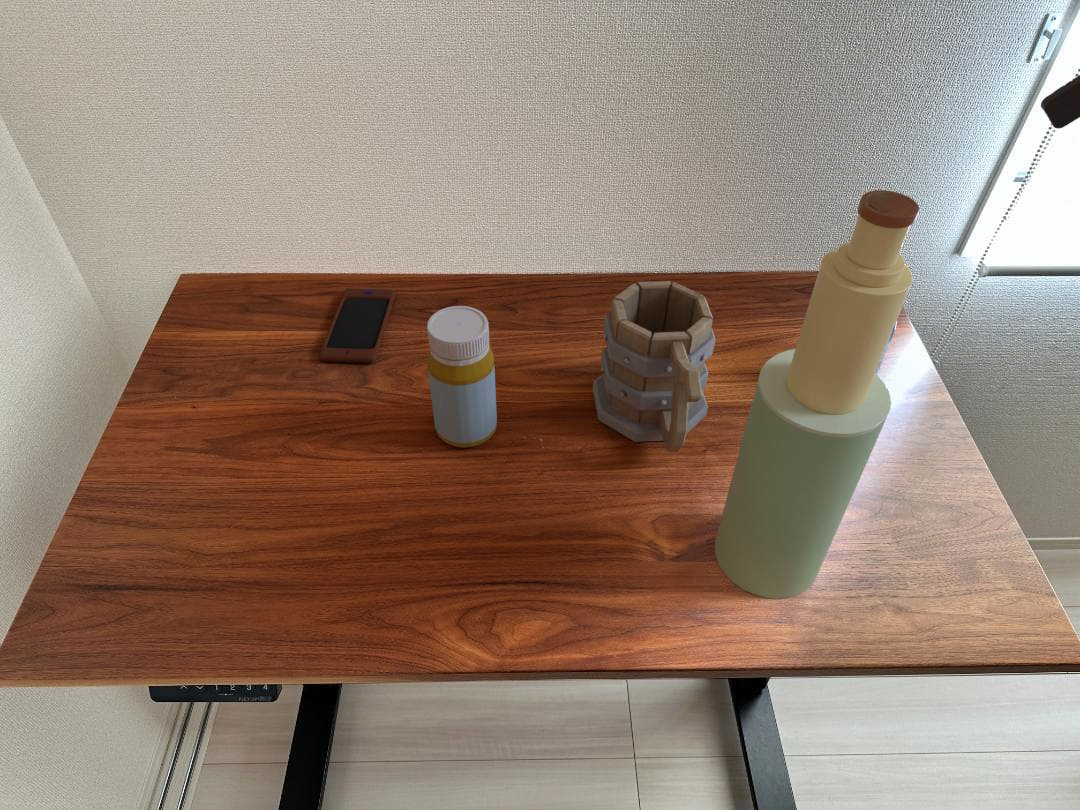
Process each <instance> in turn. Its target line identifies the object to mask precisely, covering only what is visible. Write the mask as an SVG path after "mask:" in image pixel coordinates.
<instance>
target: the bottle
mask: <svg viewBox="0 0 1080 810" xmlns="http://www.w3.org/2000/svg"><path fill="white" fill-rule="evenodd" d="M426 330H427V340H428V345H429V351H428V355H427V358H426V359H427V361H426V362H427V363H426V365H427V372H428V373H427V374H428V382H429V390H430V391H429V392H430V397H431V406H432V415H433V423H434V428H435V429H434V430H435V432H436V434H437V436H438V438H440V439H441V441H443V442H444V443H446V444H448V445H450V446H453V447H456V448H461V449H465V448H466V449H467V448H474V447H477V446H480V445H482V444H483V443H485V442H487V441H488V440H490V438H491V437H493V436H494V434H495V432H496V431H497V427H498V415H497V413H498V412H497V391H496V370H495V356H494V352H493V351H492V348H491V346H490V328H489V320H488V318H487V317H486V314H484V313H483V312H482V311H481V310H479V309H477V308H474V307H471V306H465V305H453V306H447V307H444V308H442V309H440V310H438V311H436V312H435V313H433V314H432V315H431V316H430V318H429V319H428V320H427V325H426Z"/></svg>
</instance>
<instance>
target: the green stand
mask: <svg viewBox="0 0 1080 810" xmlns="http://www.w3.org/2000/svg"><path fill="white" fill-rule="evenodd" d="M795 349H796V348H793V349H788V350H785V351H781V352H779V353H777V354H775V355H773V356H771V358H769V359H768V360H767V361H766V362H765V363H764V364H763V366H762V367H761V369H760V371H759V375H758V380H757V382H756V385H755V386H756V387H755V390H754V394H753V398H752V402H751V405H750V409H749V412H748V415H747V416H748V417H747V419H746V424H745V428H744V431H743V436H742V439H741V443H740V446H739V450H738V453H737V458H736V461H735V465H734V469H733V473H732V475H731V480H730V484H729V487H728V491H727V495H726V499H725V502H724V506H723V510H722V513H721V517H720V522H719V525H718V528H717V533H716V535H715V540H714V555H715V558H716V562H717V564H718V566H719V567H720V569H721V571H722V572H723V574H724V575H725V576H726V577H727V578H728V580H730V581H731V582H732V583H733V584H735V585H736V586H737V587H739V588H741V589H742V590H743V591H746V592H747V593H750V594H752V595H755V596H758V597H762V598H765V599H766V598H767V599H777V600H778V599H780V600H782V599H790V598H793V597H796V596H798V595H801V594H802V593H804V592H806V591H807V590H808V589H809V588H810V587H812V585H813V584H814V583H815V581H816V580H817V577H818V575H819V573H820V570H821V568H822V566H823V565H824V564H823V563H824V561H825V559H826V557H827V555H828V552H829V550H830V548H831V545H832V543H833V541H834V538H835V536H836V534H837V532H838V529H839V527H840V525H841V523H842V520H843V518H844V516H845V514H846V512H847V509H848V507H849V505H850V503H851V499H852V498H853V495H854V493H855V491H856V488H857V486H858V484H859V482H860V480H861V477H862V476H863V472H864V470H865V468H866V466H867V463H868V462H869V459H870V457H871V454H872V453H873V450H874V447H875V445H876V443H877V441H878V439H879V437H880V434H881V432H882V430H883V427H884V426H885V425H884V424H885V423H886V421H887V417H888V416H889V413H890V410H891V407H892V406H891V405H892V400H891V399H892V397H891V394H890V390H889V388H888V387H887V385H886V384H885V382H884V380H883V379H882V378H881V377H880V376H879V375H878V373H877V374H876V373H875V376H874V378H873V381H872V383H871V386H870V388H869V391H868V393H867V395H866V398H865V400H864V403H863V404H862V405H861V406H860V407H859V408H858V409H856V410H854V411H852V412H849V413H845V414H826V413H821V412H818V411H815V410H812V409H810V408H808V407H806V406H804V405H802V404H801V403H799V402H798V401H797V400H796V399H795V398H794V397H793V396H792V395H791V394H790V392H789V390H788V388H787V383H786V379H787V375H788V372H789V369H790V365H791V362H792V359H793V355H794V352H795Z"/></svg>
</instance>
